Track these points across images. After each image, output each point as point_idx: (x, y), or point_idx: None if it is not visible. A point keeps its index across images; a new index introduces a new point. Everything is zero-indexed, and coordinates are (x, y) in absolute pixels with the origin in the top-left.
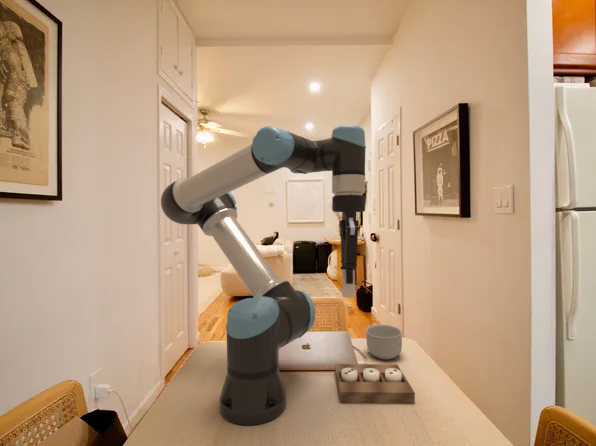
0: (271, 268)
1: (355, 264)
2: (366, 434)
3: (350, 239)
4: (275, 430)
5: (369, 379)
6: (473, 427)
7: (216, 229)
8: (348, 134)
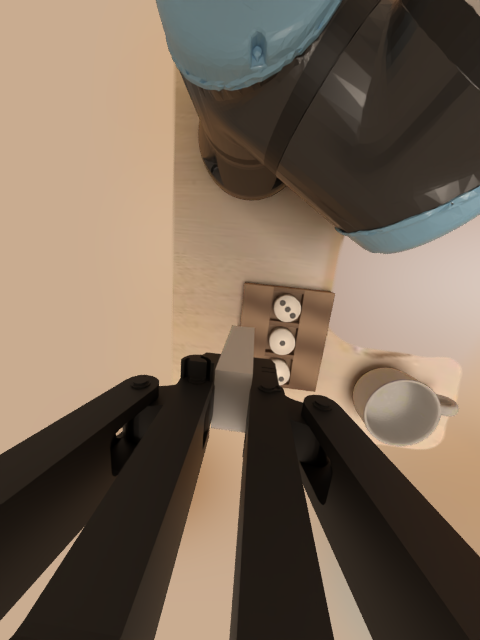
0: None
1: (119, 439)
2: (182, 298)
3: None
4: (192, 183)
5: (271, 334)
6: None
7: None
8: None
